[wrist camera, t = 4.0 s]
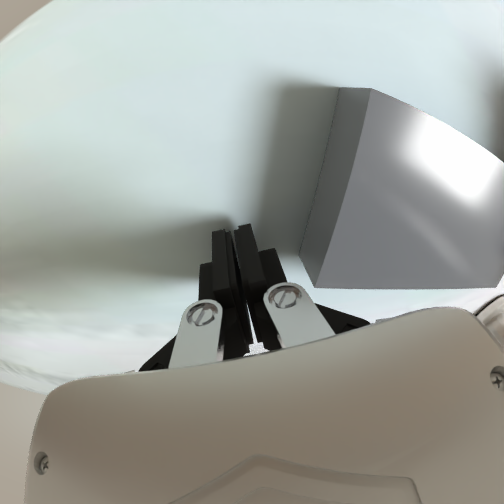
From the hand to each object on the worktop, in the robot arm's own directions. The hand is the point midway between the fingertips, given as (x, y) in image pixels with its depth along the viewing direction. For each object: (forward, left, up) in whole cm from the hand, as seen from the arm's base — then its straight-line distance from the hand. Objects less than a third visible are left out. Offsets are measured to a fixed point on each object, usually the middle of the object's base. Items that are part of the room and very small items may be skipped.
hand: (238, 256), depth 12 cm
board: (-8, -8, -1) cm, 12 cm away
